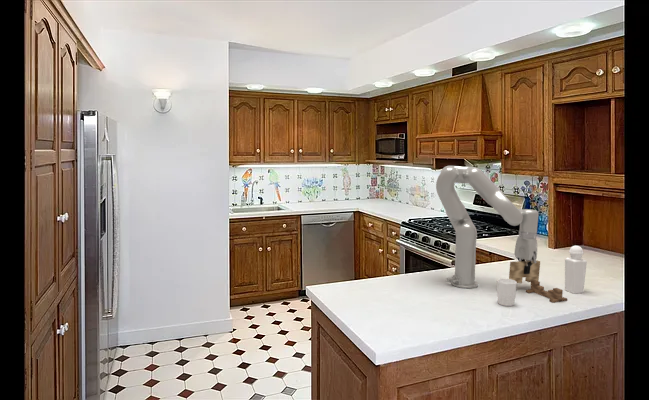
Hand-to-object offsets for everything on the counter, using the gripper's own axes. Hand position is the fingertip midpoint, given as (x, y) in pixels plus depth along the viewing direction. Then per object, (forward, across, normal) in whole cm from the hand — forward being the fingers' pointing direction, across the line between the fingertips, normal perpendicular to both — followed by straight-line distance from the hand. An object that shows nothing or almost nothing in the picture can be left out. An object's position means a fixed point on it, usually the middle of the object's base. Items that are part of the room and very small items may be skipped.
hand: (524, 272), depth 211 cm
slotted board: (+5, 0, 0) cm, 5 cm away
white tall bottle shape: (+7, +12, +19) cm, 24 cm away
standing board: (+7, +13, +1) cm, 15 cm away
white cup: (+8, +15, -23) cm, 28 cm away
